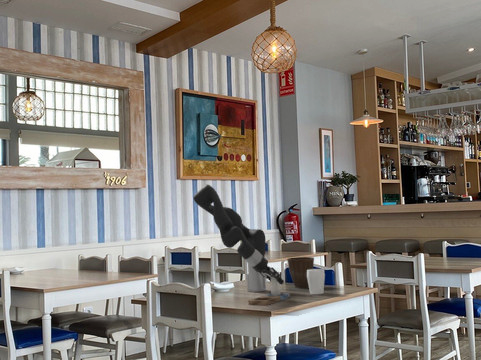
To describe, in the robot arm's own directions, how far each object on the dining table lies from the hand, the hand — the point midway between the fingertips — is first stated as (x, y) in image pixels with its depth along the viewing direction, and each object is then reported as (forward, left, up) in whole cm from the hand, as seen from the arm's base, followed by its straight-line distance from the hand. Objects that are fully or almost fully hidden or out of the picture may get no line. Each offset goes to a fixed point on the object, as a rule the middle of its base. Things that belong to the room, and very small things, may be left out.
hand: (278, 282), depth 286 cm
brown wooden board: (-1, -8, -8) cm, 12 cm away
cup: (+10, +23, -8) cm, 26 cm away
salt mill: (-1, -1, -8) cm, 8 cm away
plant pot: (-8, +46, -8) cm, 47 cm away
